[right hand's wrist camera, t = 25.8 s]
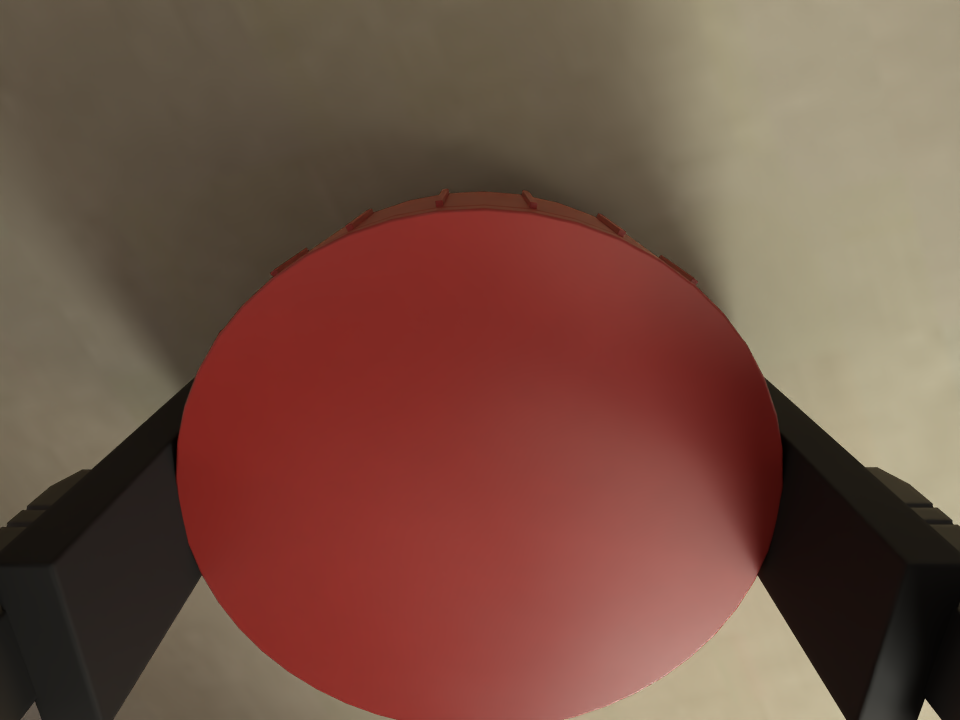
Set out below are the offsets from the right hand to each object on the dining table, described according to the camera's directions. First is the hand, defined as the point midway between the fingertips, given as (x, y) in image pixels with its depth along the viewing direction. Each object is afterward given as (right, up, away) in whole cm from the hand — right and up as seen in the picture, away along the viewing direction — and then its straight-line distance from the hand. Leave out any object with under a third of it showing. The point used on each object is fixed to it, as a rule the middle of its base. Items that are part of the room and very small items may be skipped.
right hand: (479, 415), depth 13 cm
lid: (0, -1, -3) cm, 3 cm away
